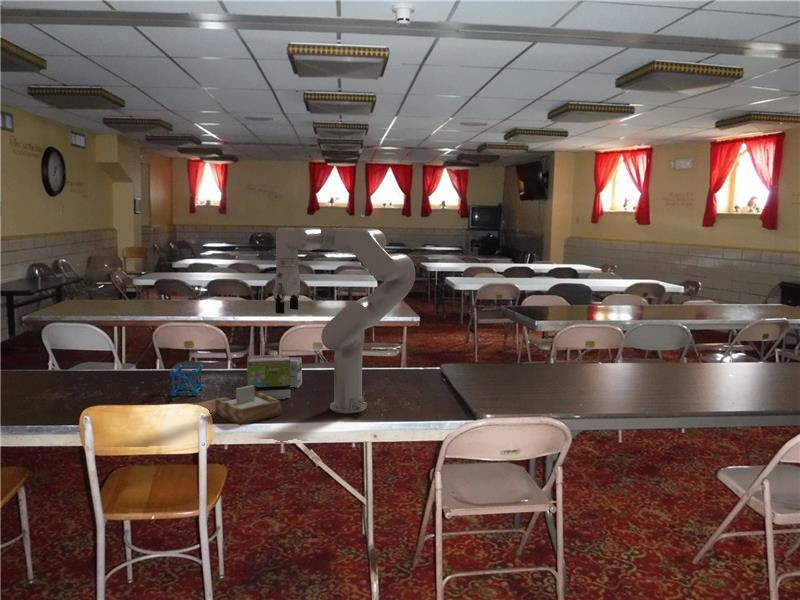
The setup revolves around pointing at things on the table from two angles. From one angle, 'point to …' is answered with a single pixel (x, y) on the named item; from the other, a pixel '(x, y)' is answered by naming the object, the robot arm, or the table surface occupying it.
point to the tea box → (270, 375)
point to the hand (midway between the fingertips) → (287, 311)
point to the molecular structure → (186, 380)
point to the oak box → (249, 410)
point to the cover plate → (253, 403)
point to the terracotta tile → (212, 404)
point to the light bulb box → (295, 372)
